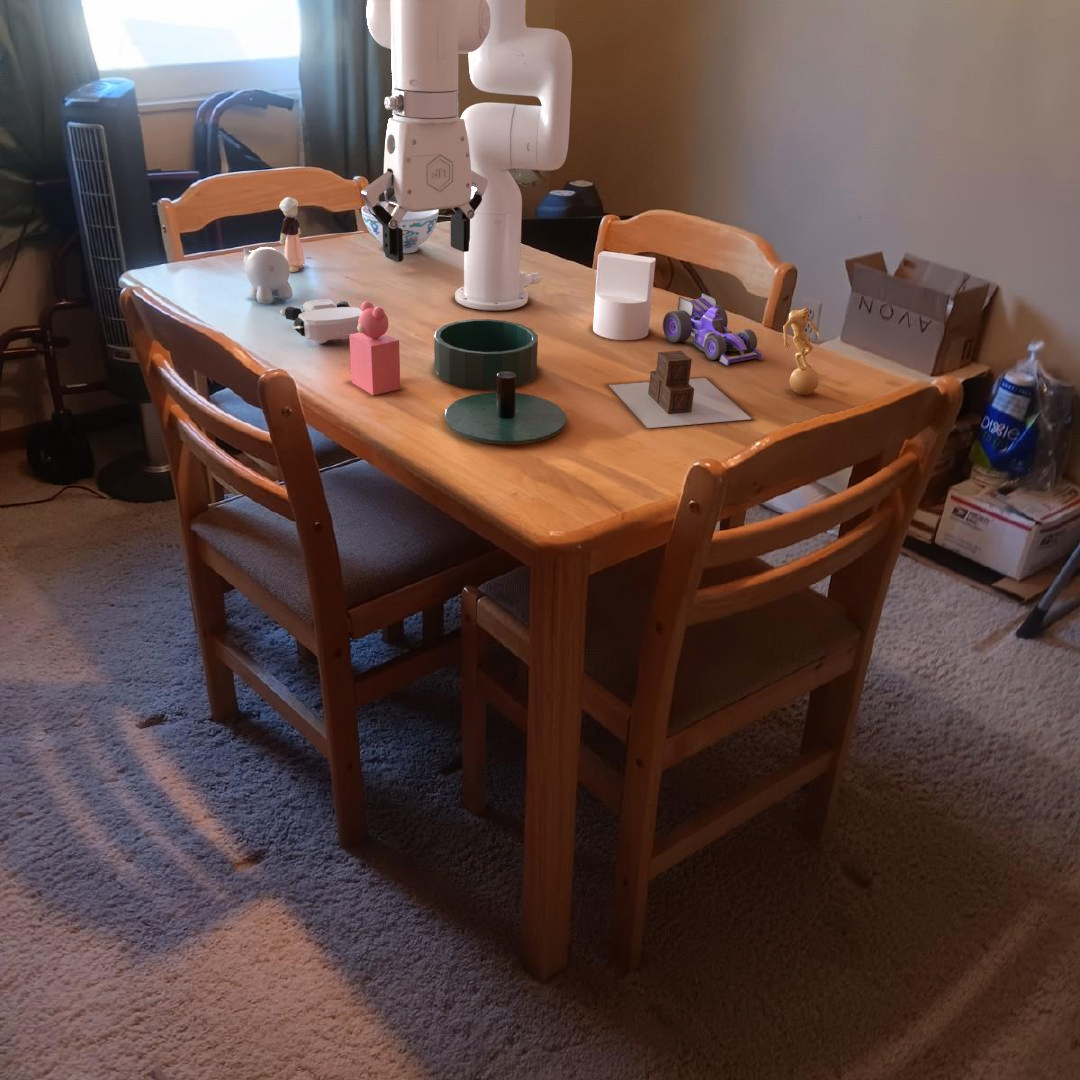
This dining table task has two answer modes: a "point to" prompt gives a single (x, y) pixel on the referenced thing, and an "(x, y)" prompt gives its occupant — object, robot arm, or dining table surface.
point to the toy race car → (709, 330)
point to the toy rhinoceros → (267, 274)
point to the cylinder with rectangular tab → (623, 295)
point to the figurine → (801, 353)
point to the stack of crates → (677, 396)
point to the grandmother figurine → (291, 234)
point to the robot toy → (324, 320)
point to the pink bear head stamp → (374, 353)
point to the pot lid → (505, 415)
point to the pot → (484, 352)
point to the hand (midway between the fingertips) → (427, 254)
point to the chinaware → (405, 227)
